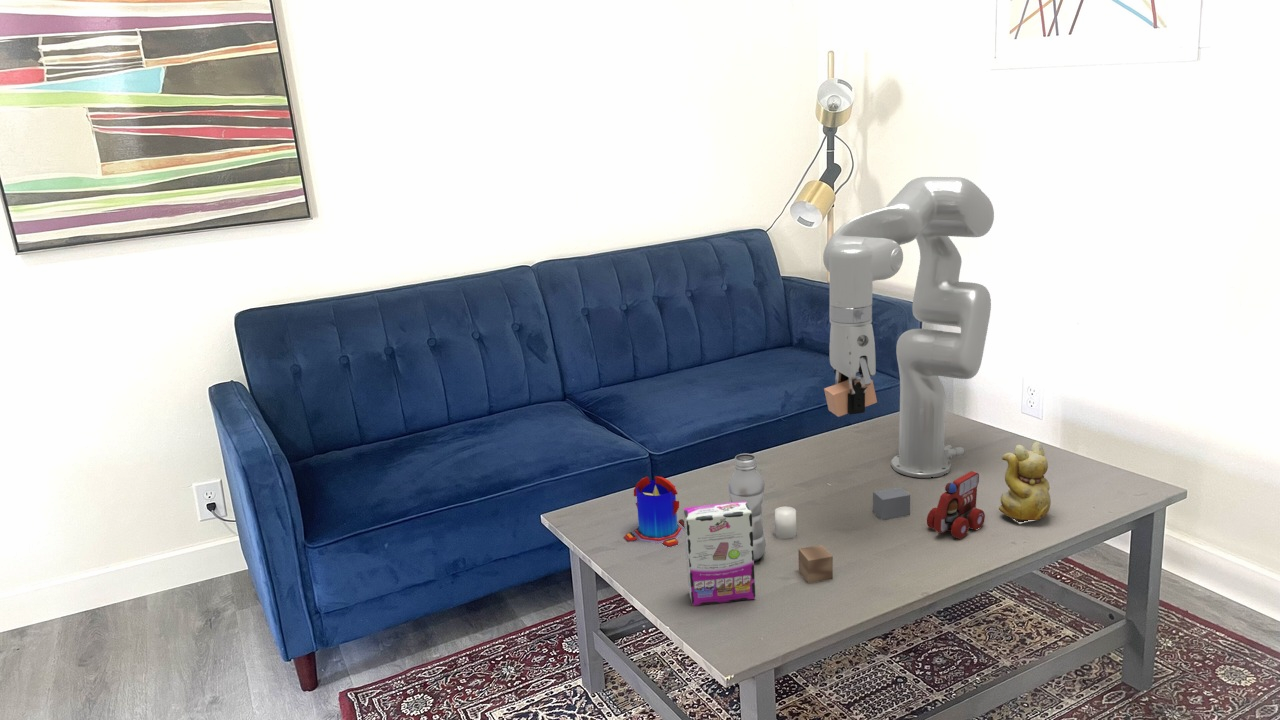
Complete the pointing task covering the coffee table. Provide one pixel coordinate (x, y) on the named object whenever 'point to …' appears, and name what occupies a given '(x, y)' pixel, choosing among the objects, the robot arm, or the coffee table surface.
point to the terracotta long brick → (845, 397)
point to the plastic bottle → (749, 496)
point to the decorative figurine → (1026, 484)
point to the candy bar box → (719, 553)
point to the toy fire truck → (958, 507)
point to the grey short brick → (891, 503)
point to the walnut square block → (815, 564)
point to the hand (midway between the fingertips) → (850, 408)
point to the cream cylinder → (785, 522)
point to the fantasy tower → (656, 512)
